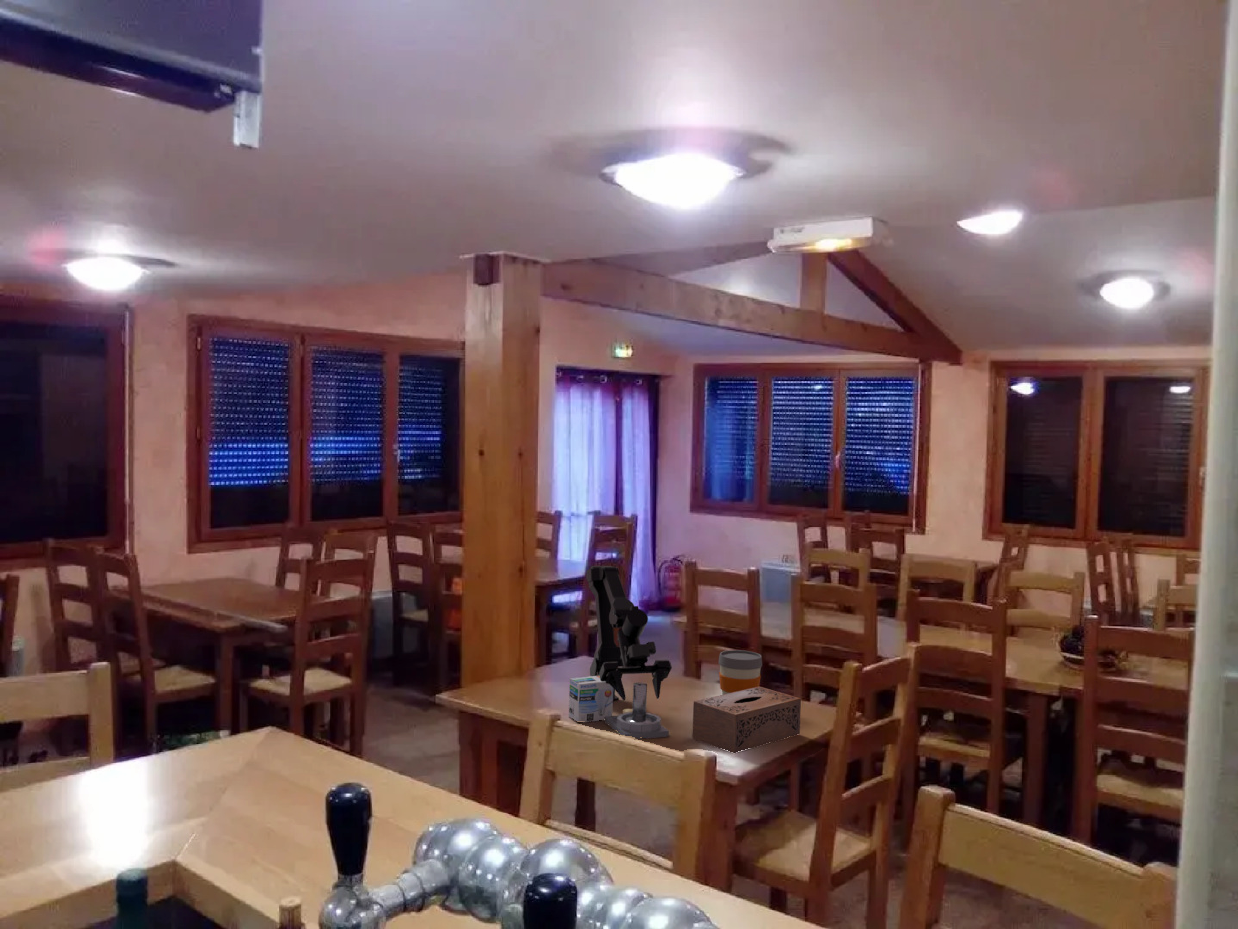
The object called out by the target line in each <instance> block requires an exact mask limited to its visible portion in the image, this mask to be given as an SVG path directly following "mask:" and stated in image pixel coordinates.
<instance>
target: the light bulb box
mask: <svg viewBox="0 0 1238 929" xmlns="http://www.w3.org/2000/svg"><path fill="white" fill-rule="evenodd" d="M568 696H569V697H568V698H569V700H568V717H569V718H571V719H572V718H573V719H574V720H573V719H572V720H573V721H575V720H576V721H585V722H584V723H590V722H591V721H592V722H600V721H599V720H602V721H604V719H605V716H613V705H614V700H613V687H612V686H611V685H610V684H606V682H605V681H601V680H600V676H590V675H589V676H583V677H571V678H569V695H568ZM576 721H575V722H576ZM589 721H590V722H589ZM592 722H591V723H592Z"/></svg>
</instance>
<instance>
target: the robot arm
mask: <svg viewBox="0 0 1238 929" xmlns="http://www.w3.org/2000/svg"><path fill="white" fill-rule="evenodd" d="M585 576H586V581H587V582H588V588H589V590H590V591H591V593H592V594H593V595H594V599H595V611H596V612H595V614H596V624H597V625H596V626H597V636H598V638H597V639H598V646H597V647H596V650H595V652H594V655H593V660H592V663H591V665H590V668H589V677H590V676H600V680H601V681H605V682H606V684H610V685H611V686H612V687H613V701H619V700H620V698H621V699H622V701H626V692H625V688H624V685H623V681H622V678H623V675H626V674H627V675H634V674H635V675H636V674H651V676H652V680H651V681H652V686H653V690H654V695H655V698H656V699H657V700H658V699H659V698H660V695H661V694H660V693H661V687H662V682H663V681H664V679H667V678H668V676H669V675H670V672H671V670H672V668H673V667H672V663H671V661H670V660H669V659H655V661H654V663H653V665H650V664H649V665H646V664H647V663H648V661H649V659H648V658H650V656H653V655H655V654H657V653H656V652H657V648H656V644H655V643H656V642H655V641H648V642H646V643H643V644H641V639H640V637H641V636H642V634H643V633H644V631H645V628H646V626H647V624H648V621H649V617H648V615H647V613H646V612H645V611H644V610H642V609H640V607H639V606H638V605H635V604H634V602H632V601H631V600H629V599H628V598H627V596H626V593H625V590H624V587H623V584H622V581H621V579H620V578H621V577H620V570H619V568H618V567H617V566H611V565H596V566H595V565H591V566H590V568H589V569H587V570H586V574H585ZM618 628H619V630H618V632H617V642H618V645H619V646H617V644H616V642H615V633H614V629H618ZM616 693H617V694H618V696H620V697H618V696H617V695H616Z"/></svg>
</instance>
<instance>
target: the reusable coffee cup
mask: <svg viewBox="0 0 1238 929" xmlns="http://www.w3.org/2000/svg"><path fill="white" fill-rule="evenodd" d="M718 657H719V658H718V665H719V672H718V675H719V676H718V677H719V688H720V689H721V695H724V694H728V693H733V692H737V691H742V690H746V689H750V688H755V687H760V682H761V677H762V676H761V668H762V667H763V659H762V657H763V656H762V654H760V653H757V652H755V651H751V650H744V649H743V650H740V649H730V650H724V651H721V652H720V653H719V656H718Z"/></svg>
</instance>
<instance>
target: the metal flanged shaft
mask: <svg viewBox="0 0 1238 929" xmlns="http://www.w3.org/2000/svg"><path fill="white" fill-rule="evenodd" d="M647 693H648V684H647V683H646V682H634V683H633V685H632V708H631V709H632V716H631V717H628V718H626V721H627V722H630V723H638V724H644V723H652V719H650V718H648V717H646V713H647V696H648V695H647Z"/></svg>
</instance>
